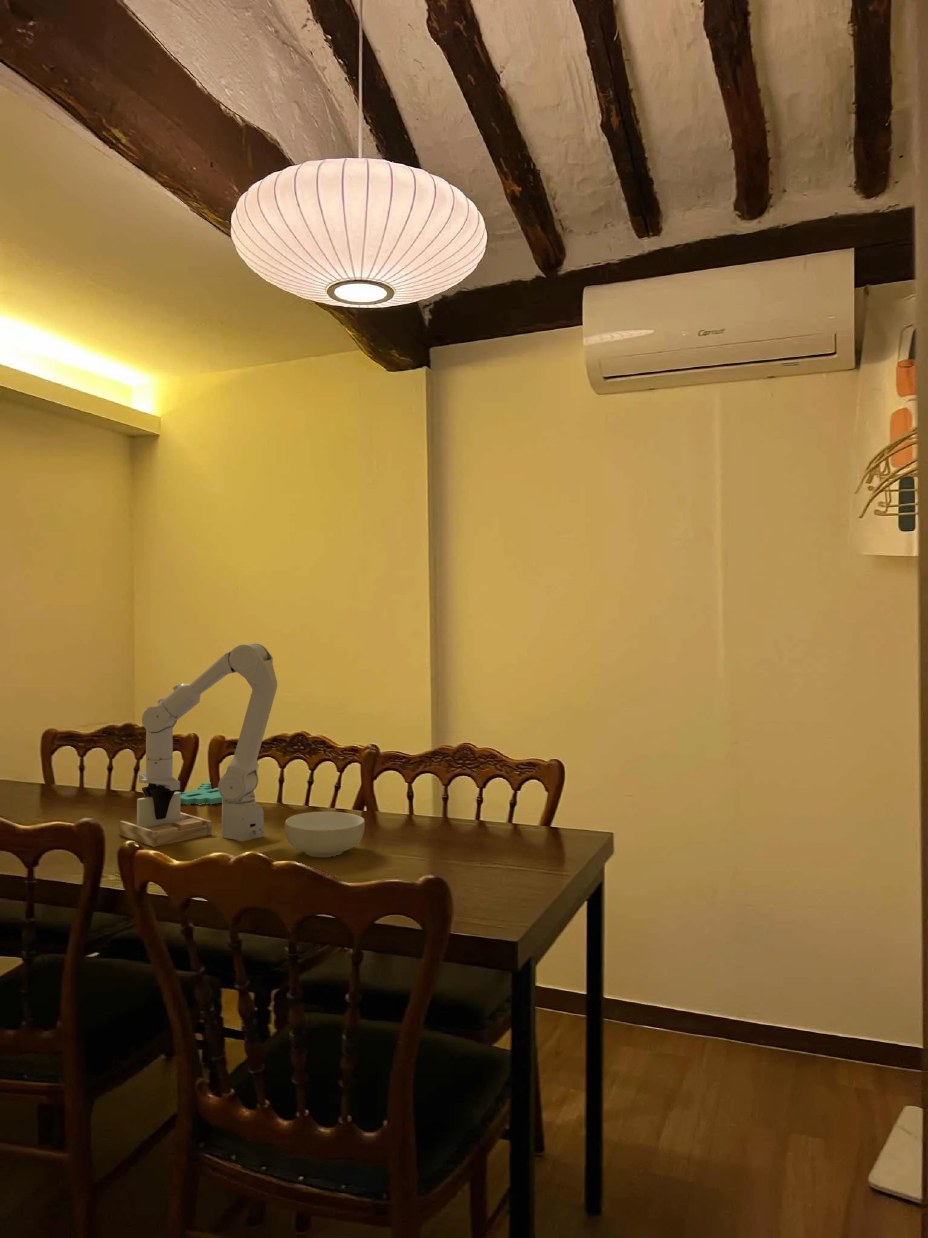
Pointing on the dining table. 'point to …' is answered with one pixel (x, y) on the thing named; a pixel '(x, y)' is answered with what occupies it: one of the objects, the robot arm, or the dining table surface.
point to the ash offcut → (164, 829)
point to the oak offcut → (187, 824)
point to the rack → (154, 840)
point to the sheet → (148, 813)
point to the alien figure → (201, 795)
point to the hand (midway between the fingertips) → (158, 818)
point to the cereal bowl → (324, 832)
